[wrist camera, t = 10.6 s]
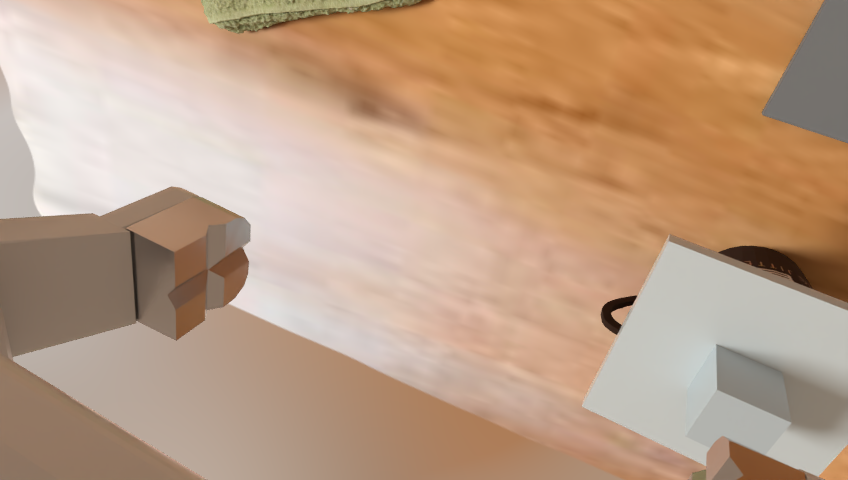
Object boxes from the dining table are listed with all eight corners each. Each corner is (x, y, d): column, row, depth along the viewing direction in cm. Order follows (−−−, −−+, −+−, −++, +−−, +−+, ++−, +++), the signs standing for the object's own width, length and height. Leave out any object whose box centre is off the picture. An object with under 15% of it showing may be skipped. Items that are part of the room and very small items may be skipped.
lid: (931, 334, 24) (970, 400, 21) (788, 494, 30) (799, 566, 26) (669, 234, 27) (663, 275, 23) (584, 397, 32) (569, 451, 29)
